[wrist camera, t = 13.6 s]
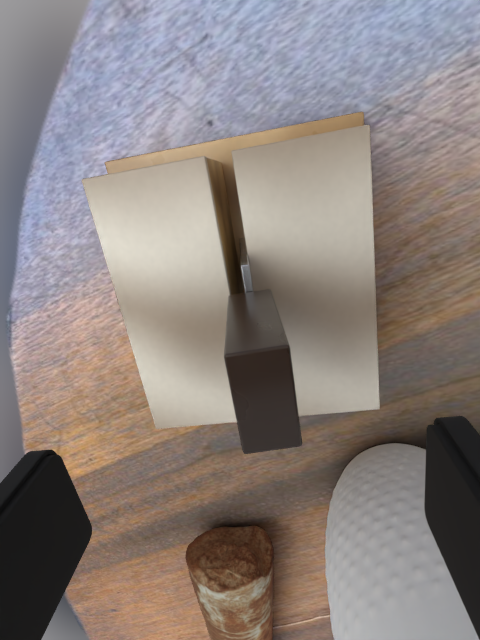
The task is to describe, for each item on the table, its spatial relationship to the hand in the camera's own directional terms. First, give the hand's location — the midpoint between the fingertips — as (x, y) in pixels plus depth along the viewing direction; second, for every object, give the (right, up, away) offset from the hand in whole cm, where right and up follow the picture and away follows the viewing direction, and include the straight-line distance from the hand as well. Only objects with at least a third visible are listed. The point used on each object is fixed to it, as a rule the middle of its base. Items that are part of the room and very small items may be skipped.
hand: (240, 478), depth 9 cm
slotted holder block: (+1, +7, +12) cm, 14 cm away
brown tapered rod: (+1, -19, +22) cm, 30 cm away
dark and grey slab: (0, +6, +11) cm, 13 cm away
